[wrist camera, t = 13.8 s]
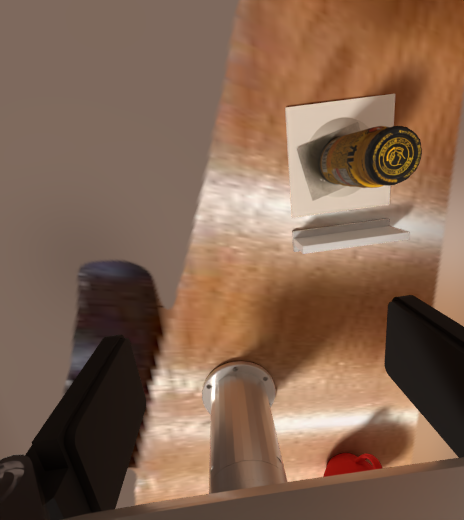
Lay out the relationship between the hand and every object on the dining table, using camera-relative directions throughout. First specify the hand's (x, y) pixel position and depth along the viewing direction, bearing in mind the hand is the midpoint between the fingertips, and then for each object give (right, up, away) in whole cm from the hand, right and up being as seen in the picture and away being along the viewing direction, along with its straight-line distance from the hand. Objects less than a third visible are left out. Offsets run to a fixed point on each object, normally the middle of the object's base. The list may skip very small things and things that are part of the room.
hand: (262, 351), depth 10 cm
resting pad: (+13, +17, +27) cm, 35 cm away
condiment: (+13, +16, +27) cm, 34 cm away
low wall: (+15, +7, +30) cm, 35 cm away
